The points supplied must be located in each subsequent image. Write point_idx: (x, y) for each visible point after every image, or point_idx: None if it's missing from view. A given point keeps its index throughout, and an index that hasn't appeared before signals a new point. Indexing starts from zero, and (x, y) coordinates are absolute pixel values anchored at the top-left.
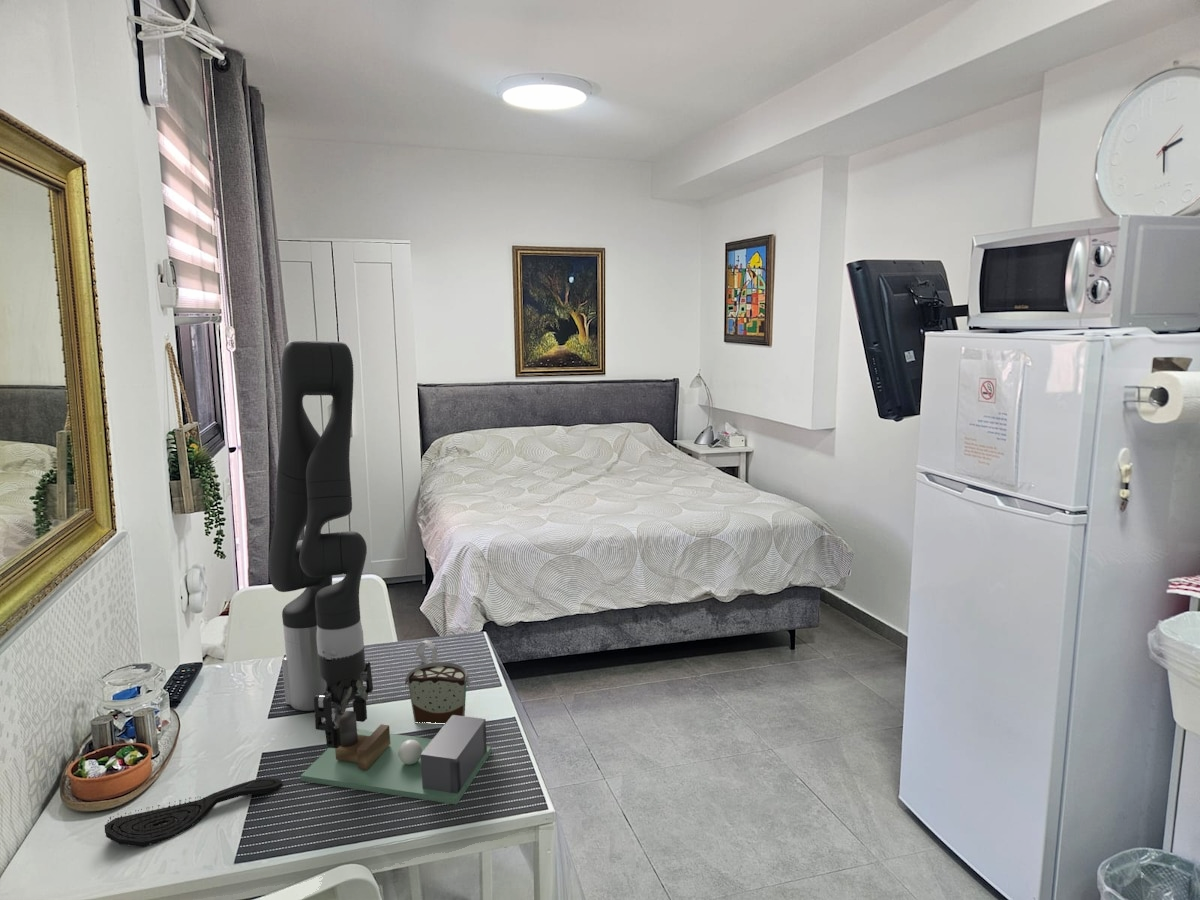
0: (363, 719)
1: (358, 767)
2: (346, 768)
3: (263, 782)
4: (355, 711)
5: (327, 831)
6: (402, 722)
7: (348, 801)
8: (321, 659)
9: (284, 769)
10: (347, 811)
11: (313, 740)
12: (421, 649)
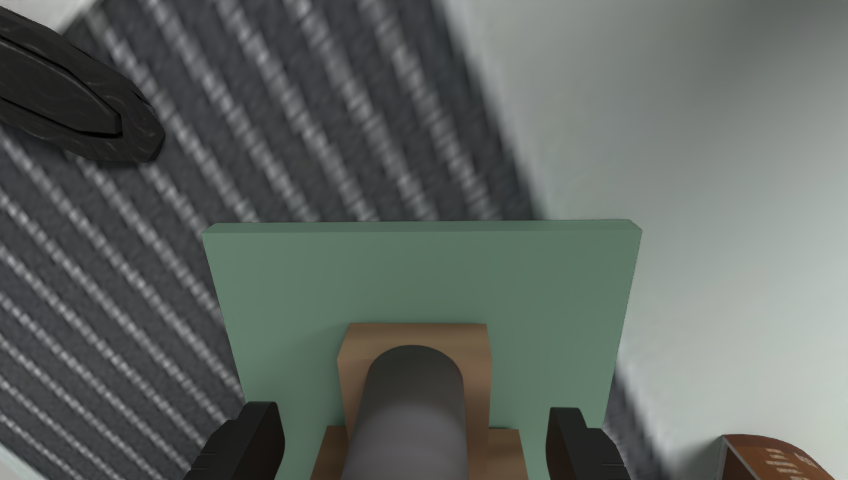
0: (548, 463)
1: (326, 429)
2: (321, 378)
3: (61, 88)
4: (568, 471)
5: (70, 438)
6: (732, 392)
7: (205, 429)
8: None
9: (250, 82)
10: (167, 446)
11: (536, 61)
12: None
